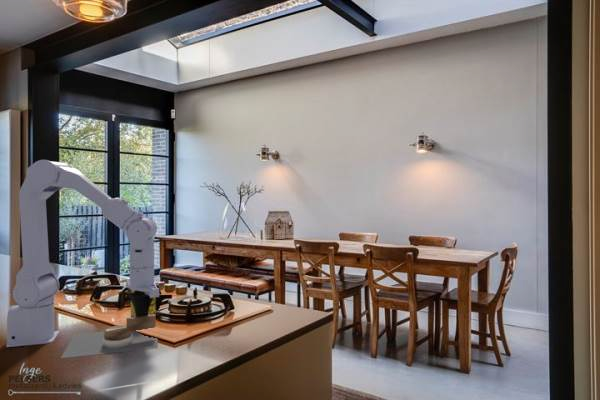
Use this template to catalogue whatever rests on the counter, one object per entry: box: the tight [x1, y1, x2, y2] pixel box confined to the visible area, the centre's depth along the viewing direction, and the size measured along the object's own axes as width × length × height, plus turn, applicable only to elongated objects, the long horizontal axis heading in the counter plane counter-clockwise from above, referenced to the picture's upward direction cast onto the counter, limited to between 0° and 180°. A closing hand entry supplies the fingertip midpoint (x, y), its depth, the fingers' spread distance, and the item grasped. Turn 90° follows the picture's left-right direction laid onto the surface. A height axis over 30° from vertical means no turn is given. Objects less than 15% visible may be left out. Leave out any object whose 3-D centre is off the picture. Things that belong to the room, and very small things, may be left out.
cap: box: [103, 313, 157, 341], centre depth 102 cm, size 12×6×4 cm, turn 122°
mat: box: [60, 330, 159, 359], centre depth 102 cm, size 20×16×1 cm
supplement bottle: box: [130, 289, 157, 318], centre depth 120 cm, size 7×7×13 cm
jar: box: [103, 335, 132, 348], centre depth 100 cm, size 6×6×2 cm
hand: (142, 320), depth 104 cm, fingers closed, pressing on cap
